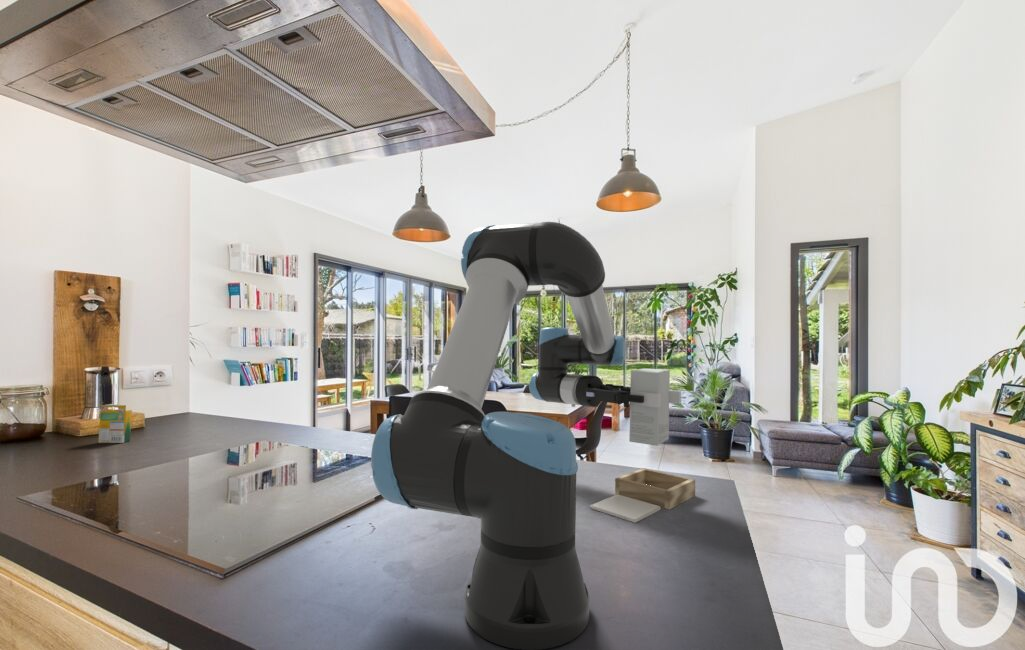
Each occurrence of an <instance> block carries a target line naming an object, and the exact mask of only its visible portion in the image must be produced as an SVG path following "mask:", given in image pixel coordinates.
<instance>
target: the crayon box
mask: <svg viewBox="0 0 1025 650" xmlns="http://www.w3.org/2000/svg"><path fill="white" fill-rule="evenodd" d="M109 408H110V409H109ZM111 408H118V409H114V410H113V409H111ZM132 412H133V411H132V409H130V410H129V409H127V405H126V404H125V405H124V404H123V405H122V404H121V405H118V404H117V405H115V404H113V405H102V404H101V405H100V413H99V427H98V428H99V429H98V441H97V442H98V444H116V443H117V444H118V443H119V444H124V443H128V442H130V441H131V431H132V415H133V413H132Z"/></svg>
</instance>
